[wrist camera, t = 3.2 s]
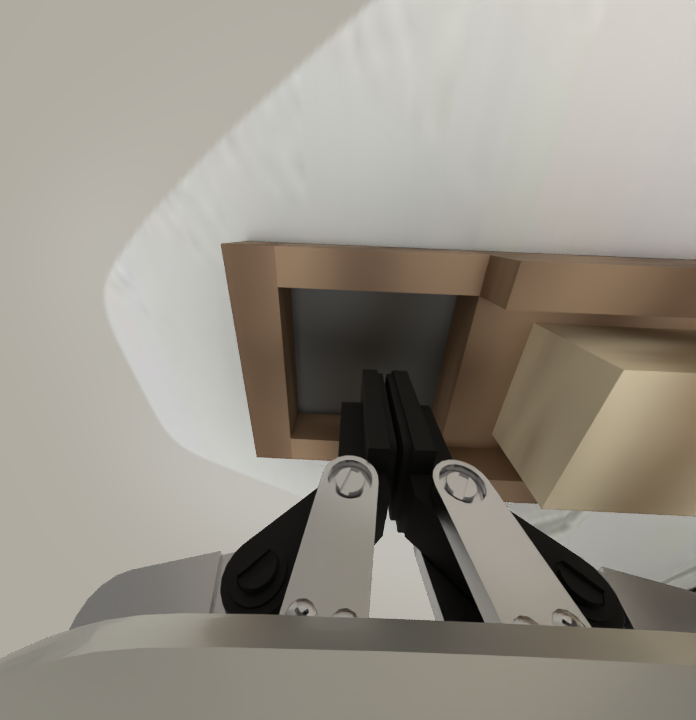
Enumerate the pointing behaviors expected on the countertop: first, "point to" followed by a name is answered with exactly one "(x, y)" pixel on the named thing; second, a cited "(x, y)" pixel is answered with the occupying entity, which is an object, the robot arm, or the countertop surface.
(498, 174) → the countertop surface
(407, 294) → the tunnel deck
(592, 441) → the birch block
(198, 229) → the countertop surface
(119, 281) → the countertop surface
